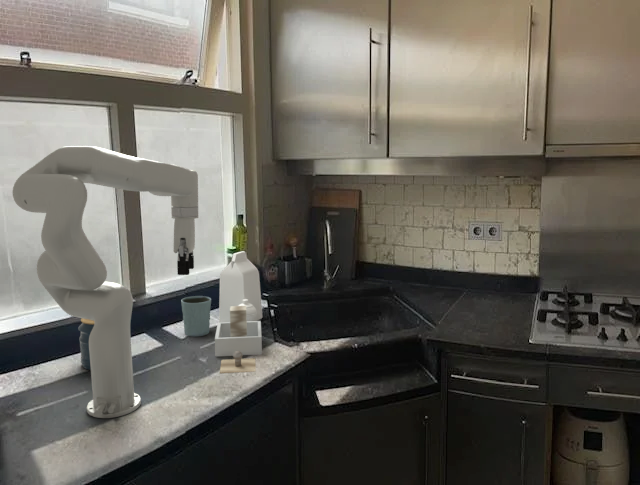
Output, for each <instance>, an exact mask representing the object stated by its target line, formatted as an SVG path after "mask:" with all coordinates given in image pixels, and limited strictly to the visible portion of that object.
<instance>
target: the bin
mask: <svg viewBox="0 0 640 485" xmlns="http://www.w3.org/2000/svg"><path fill="white" fill-rule="evenodd" d="M262 339H263V338H262V322H261V320H257V321H247V337H231V332H230V322H221V323H219V322H217V326H216V331H215V336H214V355H215V357H231V356H232V357H233V355H234V353H235V352H236V351H240V352H241V353H242V356H253V355H254V356H255V355H263V349H262V348H263V345H262V343H263V342H262V341H263V340H262Z"/></svg>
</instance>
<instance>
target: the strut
mask: <svg viewBox="0 0 640 485" xmlns="http://www.w3.org/2000/svg"><path fill="white" fill-rule="evenodd" d="M230 332H231V337H247V314H246V306H230Z"/></svg>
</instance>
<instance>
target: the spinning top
mask: <svg viewBox="0 0 640 485" xmlns="http://www.w3.org/2000/svg"><path fill="white" fill-rule="evenodd" d="M238 306H246V314H247V321H254V320H255V318H256V315H257V311H256V308H255V307H254V306H253V305H252V304H249V303H248V300H247V299H244V300H243V303H242V304H240V305H238Z"/></svg>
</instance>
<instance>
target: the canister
mask: <svg viewBox="0 0 640 485" xmlns="http://www.w3.org/2000/svg"><path fill="white" fill-rule="evenodd" d="M80 322H81V324H79V326H78V328H77V329H78V331H80V336H79V339H78V340H79V347H80V348H79V349H80V363H81V365H82V366H81V367H82V368H83V369H85V370H88V371H91V365H90V352H89V336H90V333H91V331H92V329H93V327H94V324H95V321H94V320H90V319H83V318H80Z"/></svg>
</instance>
